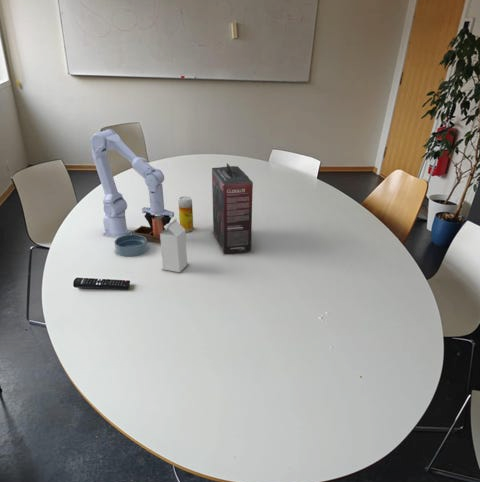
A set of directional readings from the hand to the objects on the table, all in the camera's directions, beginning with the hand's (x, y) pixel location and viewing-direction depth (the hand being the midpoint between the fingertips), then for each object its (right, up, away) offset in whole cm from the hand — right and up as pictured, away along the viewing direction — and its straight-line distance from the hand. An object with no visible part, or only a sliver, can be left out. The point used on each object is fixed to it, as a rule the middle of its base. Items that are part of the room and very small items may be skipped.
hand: (159, 230), depth 188 cm
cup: (0, -2, +1) cm, 2 cm away
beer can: (+10, +2, +13) cm, 17 cm away
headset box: (+31, -5, +3) cm, 32 cm away
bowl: (-10, -10, -6) cm, 16 cm away
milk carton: (+10, -18, -18) cm, 27 cm away
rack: (-4, -3, +4) cm, 6 cm away
